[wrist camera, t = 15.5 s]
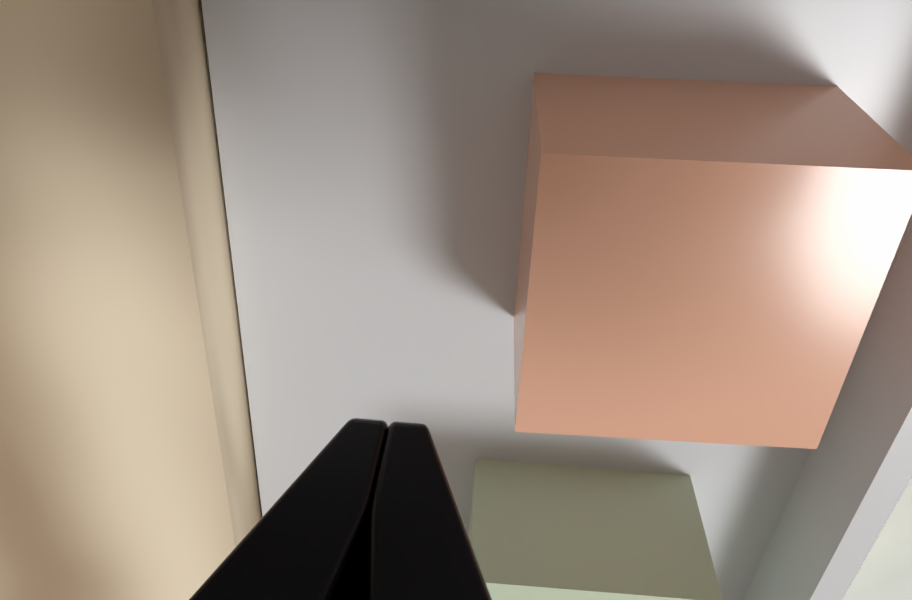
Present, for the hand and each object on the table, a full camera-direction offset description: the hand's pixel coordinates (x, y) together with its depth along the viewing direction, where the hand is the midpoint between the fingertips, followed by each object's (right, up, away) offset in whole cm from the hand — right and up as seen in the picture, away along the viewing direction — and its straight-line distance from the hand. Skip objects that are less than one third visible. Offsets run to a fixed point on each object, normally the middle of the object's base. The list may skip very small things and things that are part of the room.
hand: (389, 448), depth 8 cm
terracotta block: (+4, +1, +2) cm, 5 cm away
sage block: (+3, -5, +7) cm, 9 cm away
